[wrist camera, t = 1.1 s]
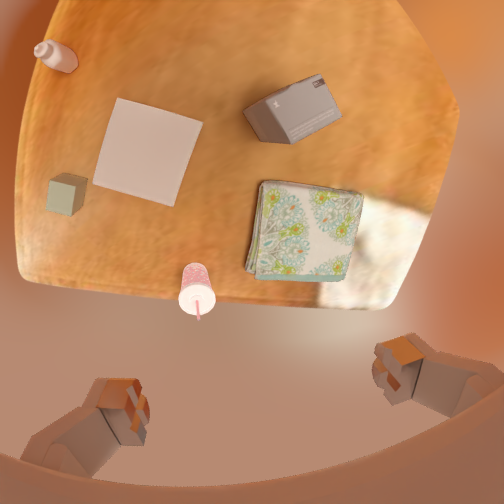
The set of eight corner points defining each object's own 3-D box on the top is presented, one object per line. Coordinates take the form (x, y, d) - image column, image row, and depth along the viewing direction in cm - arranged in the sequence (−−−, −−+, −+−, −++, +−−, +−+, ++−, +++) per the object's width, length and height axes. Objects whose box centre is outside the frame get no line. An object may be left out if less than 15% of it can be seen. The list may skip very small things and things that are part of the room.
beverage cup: (189, 253, 53) (190, 296, 40) (217, 267, 55) (226, 312, 43) (173, 278, 54) (171, 325, 42) (200, 291, 57) (206, 339, 44)
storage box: (126, 100, 39) (117, 97, 34) (201, 122, 43) (203, 122, 38) (102, 176, 43) (92, 183, 38) (175, 197, 48) (173, 207, 43)
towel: (255, 176, 49) (262, 182, 45) (358, 191, 54) (372, 198, 50) (241, 269, 57) (246, 283, 52) (337, 271, 62) (347, 283, 57)
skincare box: (260, 142, 46) (291, 153, 32) (238, 106, 43) (261, 100, 29) (301, 119, 46) (347, 122, 32) (282, 83, 42) (321, 71, 29)
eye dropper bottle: (57, 78, 33) (23, 71, 23) (57, 50, 31) (25, 36, 20) (79, 71, 34) (48, 60, 23) (79, 42, 31) (50, 25, 21)
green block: (63, 172, 41) (49, 180, 36) (87, 178, 43) (75, 186, 37) (59, 199, 43) (45, 209, 37) (82, 205, 44) (71, 216, 39)
